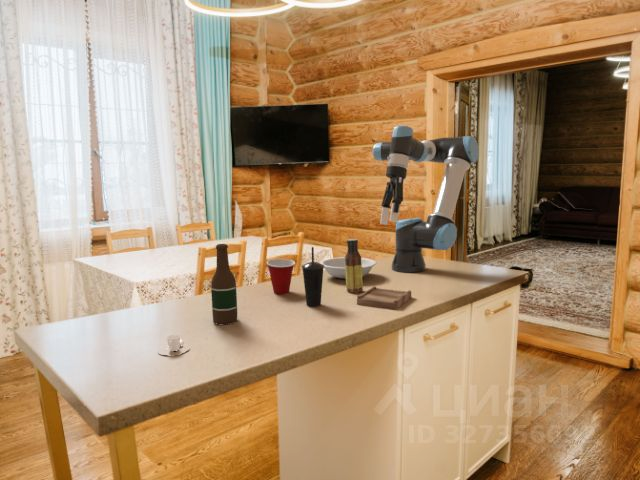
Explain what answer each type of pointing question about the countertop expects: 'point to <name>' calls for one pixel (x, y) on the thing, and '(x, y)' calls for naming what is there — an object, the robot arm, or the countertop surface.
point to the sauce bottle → (353, 267)
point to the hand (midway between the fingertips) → (388, 223)
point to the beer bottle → (223, 289)
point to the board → (383, 298)
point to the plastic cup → (281, 274)
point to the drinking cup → (313, 282)
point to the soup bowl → (338, 266)
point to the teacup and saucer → (174, 342)
